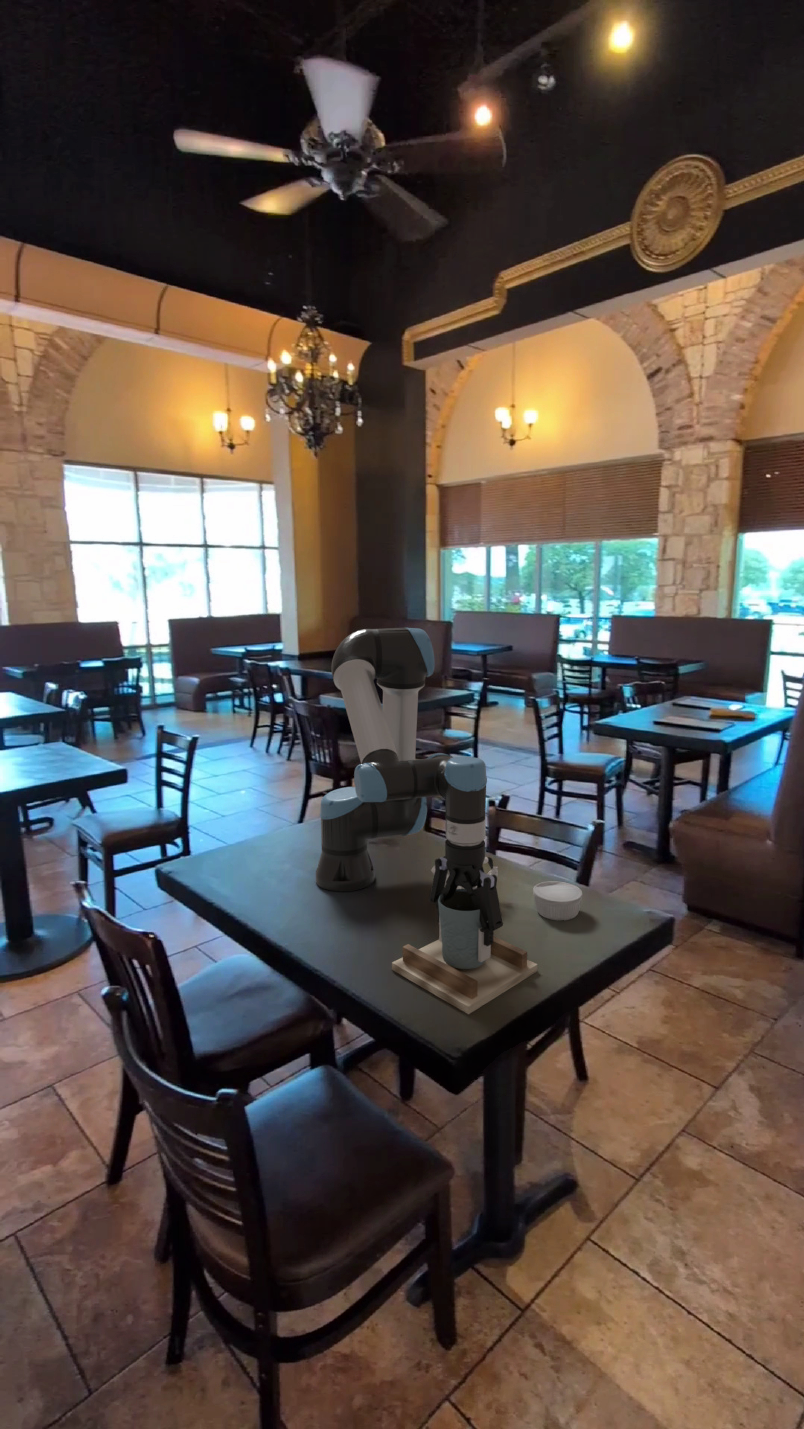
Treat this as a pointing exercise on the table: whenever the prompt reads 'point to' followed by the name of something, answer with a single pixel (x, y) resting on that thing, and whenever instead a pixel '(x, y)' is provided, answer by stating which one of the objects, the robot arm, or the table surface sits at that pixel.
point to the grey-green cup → (459, 930)
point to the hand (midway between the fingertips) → (464, 949)
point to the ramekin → (557, 900)
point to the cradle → (465, 973)
